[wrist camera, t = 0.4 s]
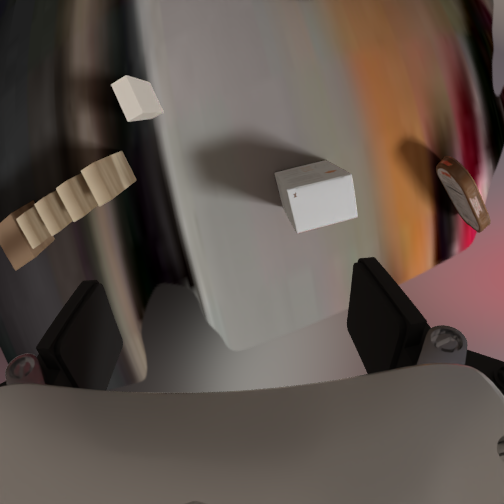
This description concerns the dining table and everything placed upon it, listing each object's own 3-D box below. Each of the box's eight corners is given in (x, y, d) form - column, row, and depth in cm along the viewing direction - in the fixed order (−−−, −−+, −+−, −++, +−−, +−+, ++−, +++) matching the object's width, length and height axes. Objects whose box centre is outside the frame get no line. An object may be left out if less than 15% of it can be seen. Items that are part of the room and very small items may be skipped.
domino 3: (102, 199, 43) (73, 222, 34) (88, 171, 41) (55, 188, 32) (112, 193, 42) (84, 215, 33) (98, 165, 40) (66, 180, 31)
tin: (469, 213, 47) (497, 230, 39) (459, 223, 48) (487, 242, 40) (436, 150, 42) (468, 160, 34) (425, 162, 43) (455, 173, 35)
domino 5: (151, 118, 38) (127, 121, 29) (137, 89, 36) (110, 84, 27) (163, 112, 38) (143, 112, 29) (149, 82, 36) (125, 75, 27)
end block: (14, 215, 42) (-8, 230, 36) (33, 200, 42) (10, 213, 35) (35, 252, 46) (15, 270, 39) (55, 239, 45) (34, 257, 39)
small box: (282, 207, 45) (295, 235, 36) (273, 171, 43) (284, 189, 33) (333, 194, 45) (359, 218, 35) (327, 158, 42) (352, 173, 33)
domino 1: (63, 223, 44) (32, 249, 35) (50, 197, 42) (16, 219, 33) (71, 218, 44) (40, 243, 35) (57, 192, 42) (23, 212, 33)
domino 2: (82, 211, 43) (51, 236, 34) (68, 185, 41) (34, 204, 32) (91, 206, 43) (61, 230, 34) (76, 179, 41) (43, 197, 32)
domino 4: (125, 186, 42) (99, 206, 33) (111, 157, 40) (80, 170, 31) (136, 180, 42) (111, 199, 33) (121, 150, 40) (93, 162, 31)
